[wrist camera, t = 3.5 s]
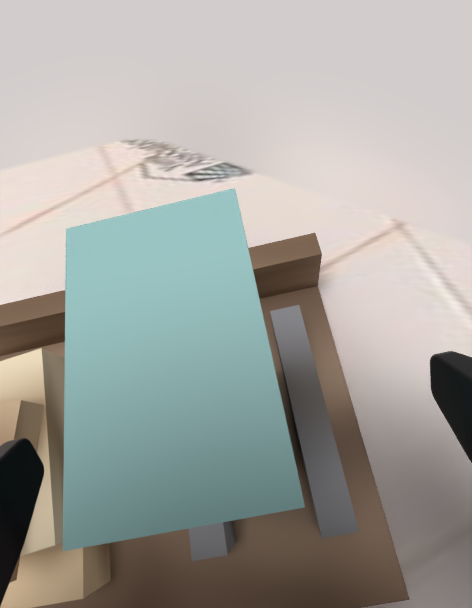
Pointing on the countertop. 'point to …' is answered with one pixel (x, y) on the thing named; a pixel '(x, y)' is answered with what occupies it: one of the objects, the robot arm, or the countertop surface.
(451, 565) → the countertop surface
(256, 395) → the block
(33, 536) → the rack
